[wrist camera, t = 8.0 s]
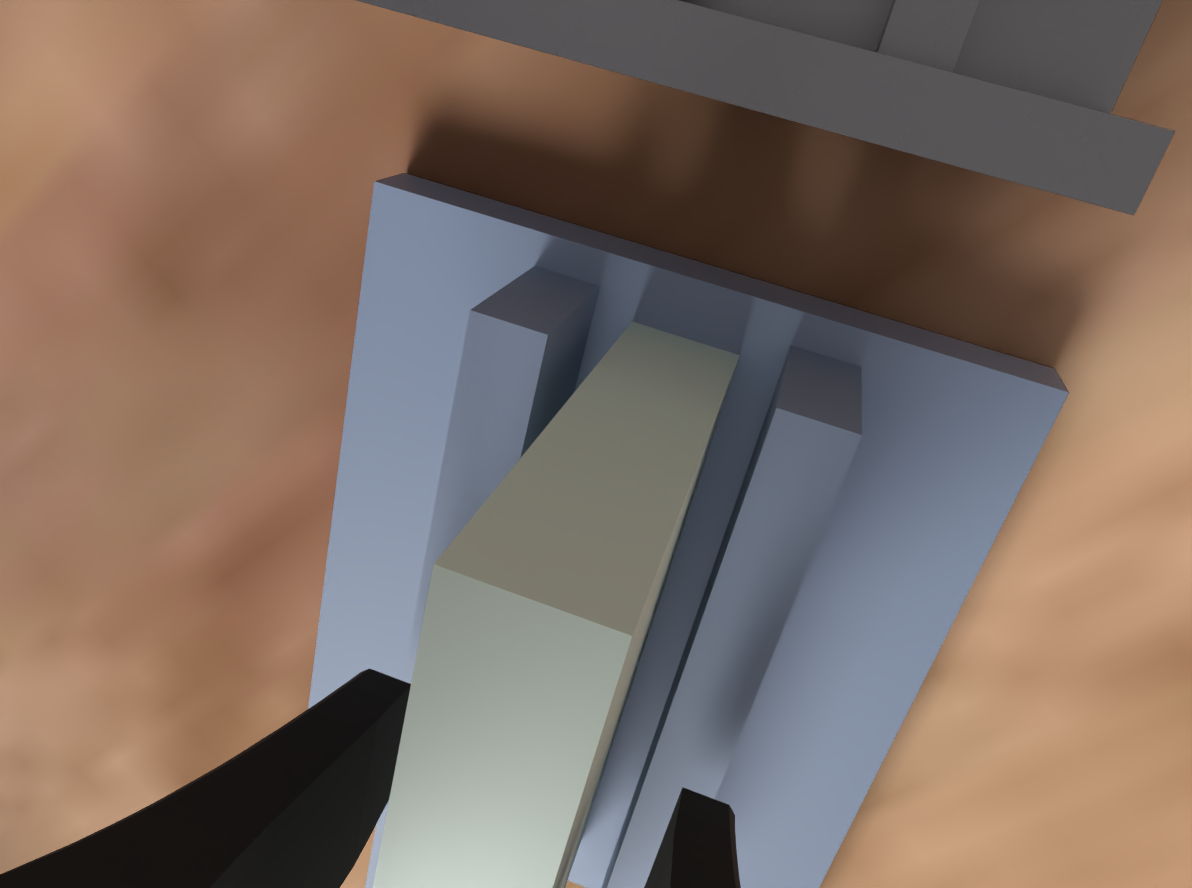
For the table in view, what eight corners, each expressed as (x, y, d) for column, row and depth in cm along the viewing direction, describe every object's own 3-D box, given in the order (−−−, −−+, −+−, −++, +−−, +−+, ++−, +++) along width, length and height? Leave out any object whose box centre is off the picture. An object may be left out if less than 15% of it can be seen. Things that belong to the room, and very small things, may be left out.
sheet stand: (325, 740, 20) (225, 870, 17) (404, 172, 14) (278, 208, 11) (783, 920, 18) (768, 1099, 15) (1054, 368, 13) (1116, 470, 10)
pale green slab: (502, 808, 18) (308, 1223, 11) (633, 321, 13) (433, 564, 7) (581, 840, 17) (428, 1279, 11) (739, 355, 13) (632, 636, 7)
